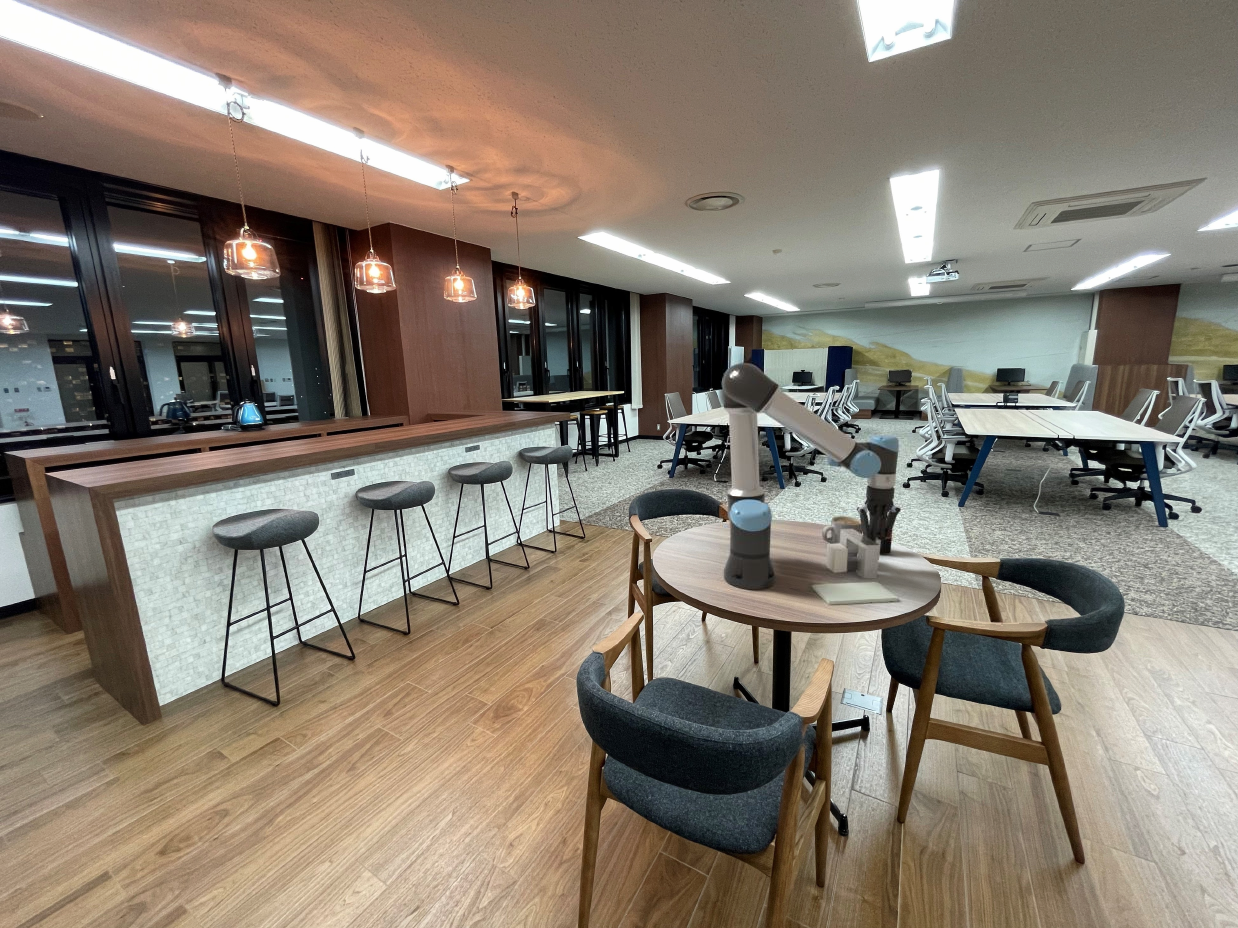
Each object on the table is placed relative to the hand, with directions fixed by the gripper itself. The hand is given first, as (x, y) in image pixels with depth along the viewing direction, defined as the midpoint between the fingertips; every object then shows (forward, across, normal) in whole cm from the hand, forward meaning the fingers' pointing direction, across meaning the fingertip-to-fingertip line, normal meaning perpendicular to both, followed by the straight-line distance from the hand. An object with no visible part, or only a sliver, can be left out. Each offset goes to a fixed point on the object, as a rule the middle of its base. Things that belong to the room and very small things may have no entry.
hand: (874, 558), depth 149 cm
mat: (+3, -16, -17) cm, 24 cm away
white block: (+3, -7, 0) cm, 8 cm away
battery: (+3, +8, +12) cm, 15 cm away
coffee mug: (+3, -2, +18) cm, 18 cm away
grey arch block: (+3, -6, 0) cm, 6 cm away
